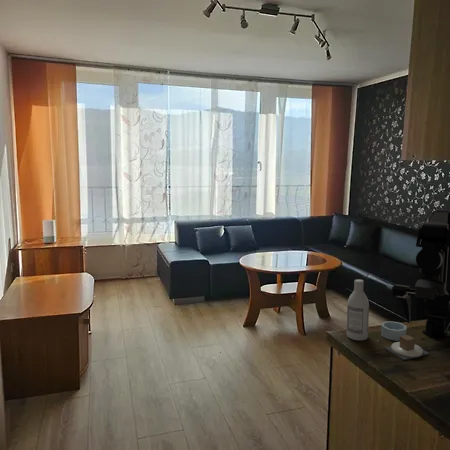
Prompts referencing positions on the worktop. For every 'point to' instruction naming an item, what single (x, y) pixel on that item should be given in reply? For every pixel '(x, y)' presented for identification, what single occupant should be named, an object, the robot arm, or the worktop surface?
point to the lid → (407, 347)
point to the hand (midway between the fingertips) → (426, 326)
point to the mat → (404, 356)
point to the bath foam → (358, 313)
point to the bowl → (393, 330)
